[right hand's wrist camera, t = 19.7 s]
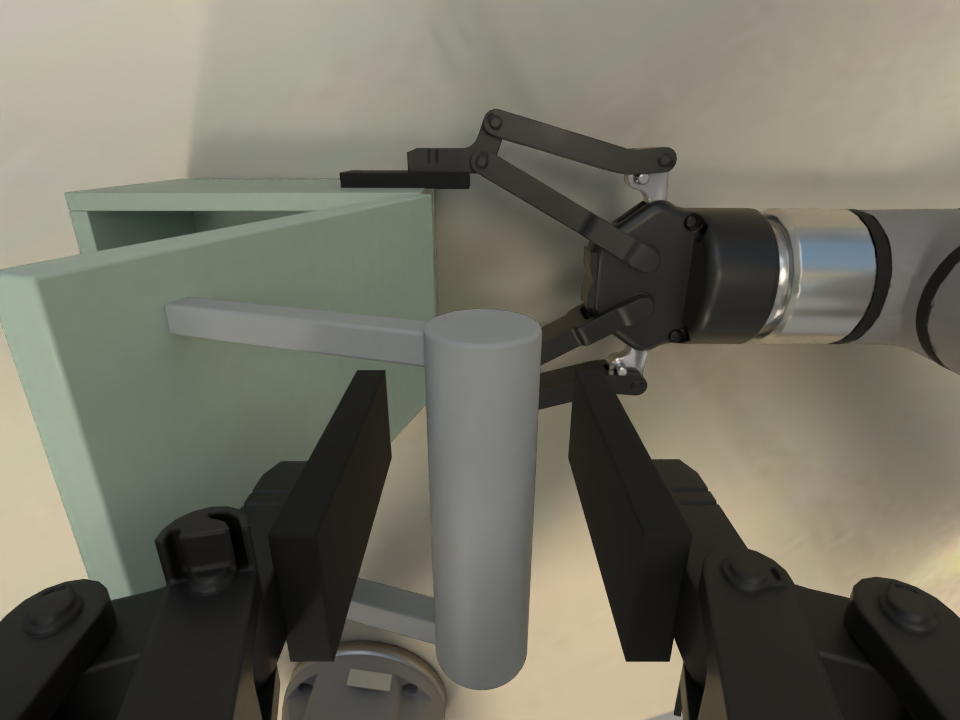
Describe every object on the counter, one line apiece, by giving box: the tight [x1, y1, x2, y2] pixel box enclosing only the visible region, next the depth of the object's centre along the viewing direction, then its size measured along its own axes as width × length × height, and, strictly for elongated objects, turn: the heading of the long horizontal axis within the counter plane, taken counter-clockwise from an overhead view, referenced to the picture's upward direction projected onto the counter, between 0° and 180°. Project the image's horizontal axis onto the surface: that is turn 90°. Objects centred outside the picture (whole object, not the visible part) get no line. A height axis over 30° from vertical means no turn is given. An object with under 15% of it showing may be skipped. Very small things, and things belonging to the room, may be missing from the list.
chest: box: [65, 179, 438, 317], centre depth 31 cm, size 16×10×11 cm, turn 90°
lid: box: [0, 194, 542, 690], centre depth 17 cm, size 17×10×9 cm
